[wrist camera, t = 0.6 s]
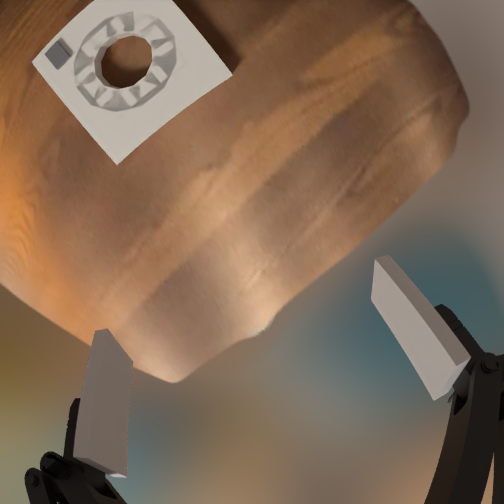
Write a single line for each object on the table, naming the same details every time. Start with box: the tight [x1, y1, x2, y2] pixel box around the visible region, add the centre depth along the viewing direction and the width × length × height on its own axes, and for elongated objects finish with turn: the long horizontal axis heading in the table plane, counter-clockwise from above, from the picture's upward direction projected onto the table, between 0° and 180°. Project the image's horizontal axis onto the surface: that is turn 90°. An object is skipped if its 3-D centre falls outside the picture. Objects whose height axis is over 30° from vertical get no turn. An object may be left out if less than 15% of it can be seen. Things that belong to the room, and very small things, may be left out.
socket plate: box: [32, 0, 233, 165], centre depth 24 cm, size 18×16×3 cm
